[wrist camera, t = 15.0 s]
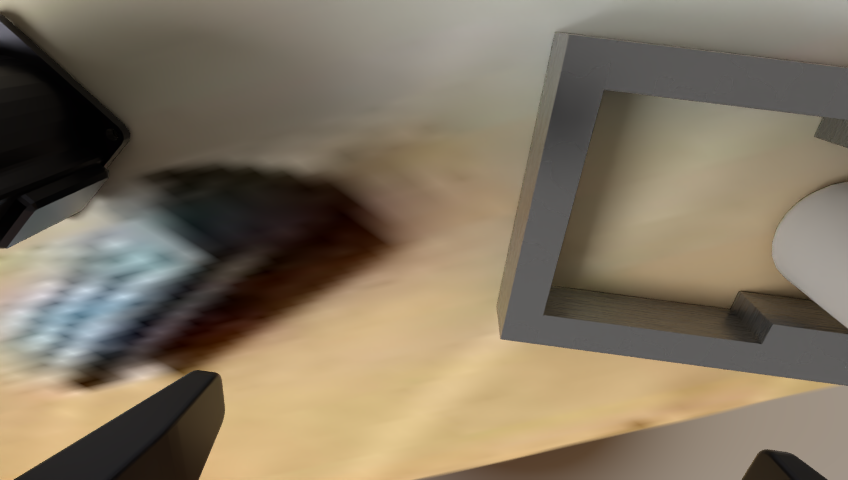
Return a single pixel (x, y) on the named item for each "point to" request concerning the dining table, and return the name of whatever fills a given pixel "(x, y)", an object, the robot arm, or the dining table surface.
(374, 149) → the dining table surface
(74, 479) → the robot arm
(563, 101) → the grey shallow tray
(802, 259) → the beverage can
